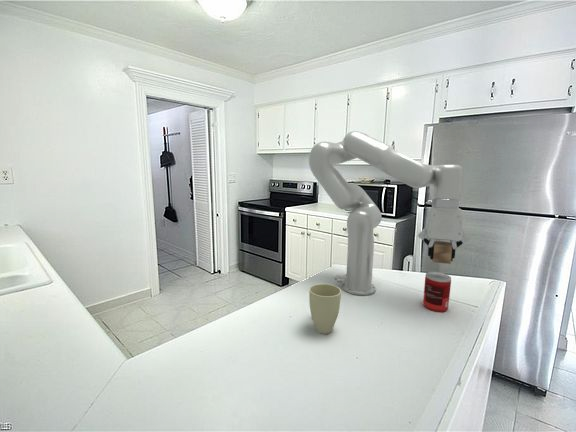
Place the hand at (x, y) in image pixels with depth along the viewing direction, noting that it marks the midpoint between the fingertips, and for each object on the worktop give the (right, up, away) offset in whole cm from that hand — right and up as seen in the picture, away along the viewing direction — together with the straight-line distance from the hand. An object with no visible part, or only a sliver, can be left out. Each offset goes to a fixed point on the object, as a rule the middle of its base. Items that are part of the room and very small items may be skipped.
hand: (440, 258), depth 95 cm
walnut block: (0, -1, 0) cm, 1 cm away
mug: (-40, -19, -10) cm, 46 cm away
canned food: (0, -17, +3) cm, 17 cm away
